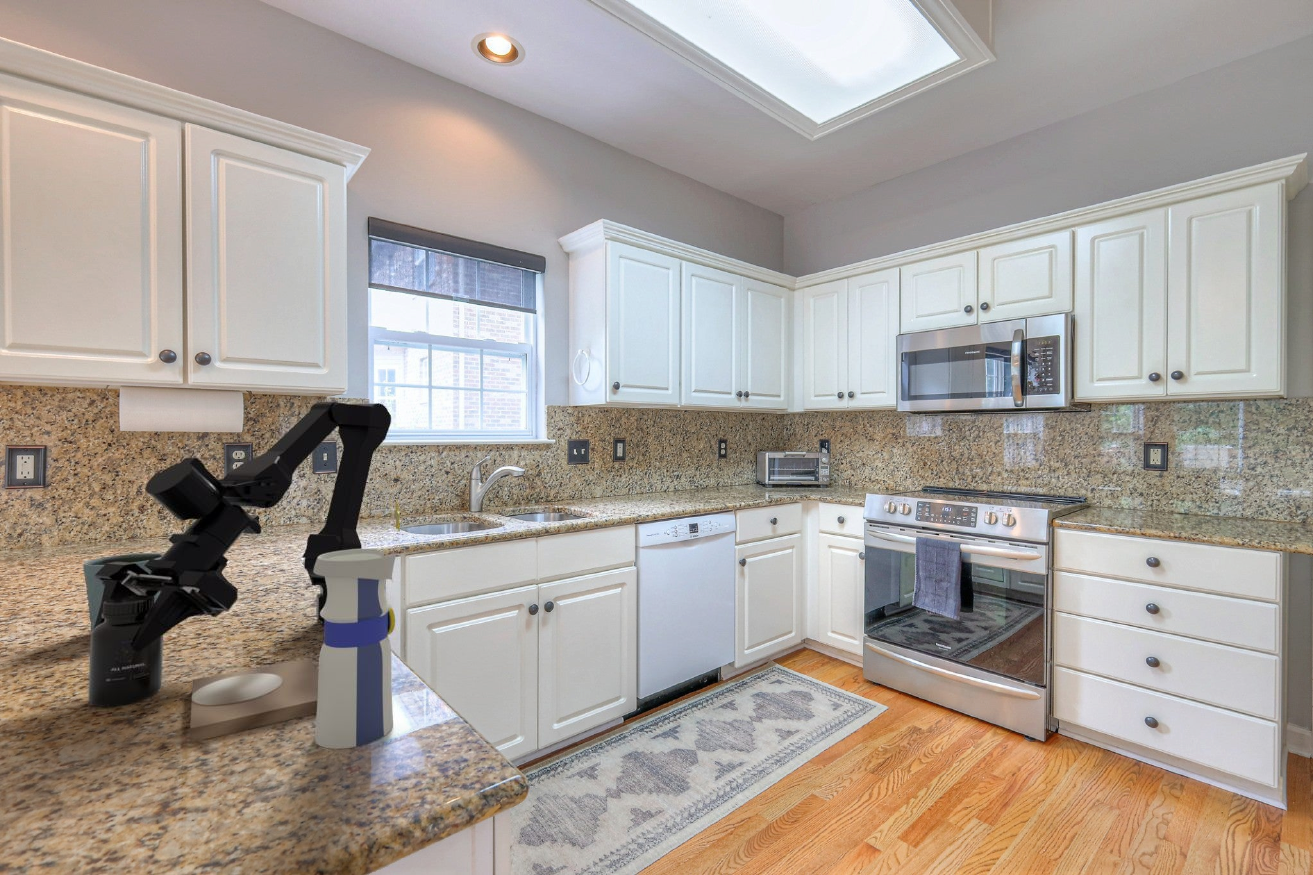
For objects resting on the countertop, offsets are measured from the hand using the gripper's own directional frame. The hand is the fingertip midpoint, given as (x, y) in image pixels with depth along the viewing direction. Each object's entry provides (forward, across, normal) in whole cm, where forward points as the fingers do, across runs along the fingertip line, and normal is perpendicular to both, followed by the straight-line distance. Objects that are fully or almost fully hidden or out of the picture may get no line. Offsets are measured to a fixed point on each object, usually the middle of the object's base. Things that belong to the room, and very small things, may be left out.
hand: (114, 646), depth 73 cm
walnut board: (+1, -17, -8) cm, 19 cm away
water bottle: (+3, -33, -7) cm, 34 cm away
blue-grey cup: (-9, +29, -18) cm, 36 cm away
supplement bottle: (+4, 0, -6) cm, 7 cm away
